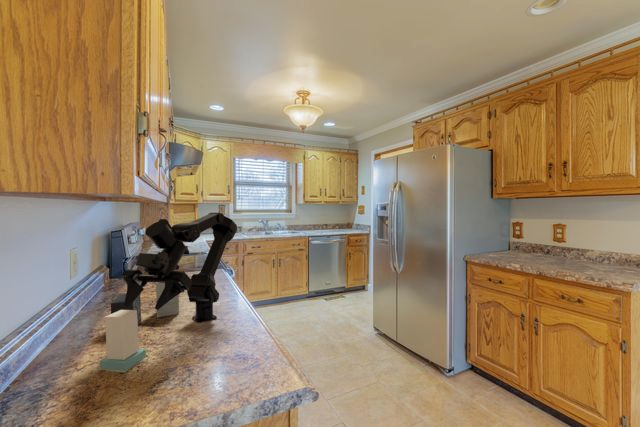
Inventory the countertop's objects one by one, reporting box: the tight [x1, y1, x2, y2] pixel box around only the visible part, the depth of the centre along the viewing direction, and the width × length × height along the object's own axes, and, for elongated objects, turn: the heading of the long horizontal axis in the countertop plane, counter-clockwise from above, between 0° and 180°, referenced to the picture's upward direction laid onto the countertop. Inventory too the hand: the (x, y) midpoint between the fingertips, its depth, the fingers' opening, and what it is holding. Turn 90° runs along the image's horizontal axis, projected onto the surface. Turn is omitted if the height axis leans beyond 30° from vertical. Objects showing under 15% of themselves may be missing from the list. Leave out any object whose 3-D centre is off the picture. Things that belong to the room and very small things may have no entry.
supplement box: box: [155, 282, 180, 318], centre depth 110 cm, size 7×7×13 cm
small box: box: [110, 293, 142, 327], centre depth 95 cm, size 11×6×10 cm, turn 21°
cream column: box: [104, 310, 140, 360], centre depth 71 cm, size 4×4×10 cm
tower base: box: [99, 356, 149, 373], centre depth 71 cm, size 7×7×2 cm
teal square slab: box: [99, 348, 147, 372], centre depth 71 cm, size 6×6×2 cm
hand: (140, 308), depth 76 cm, fingers open, 9 cm apart
